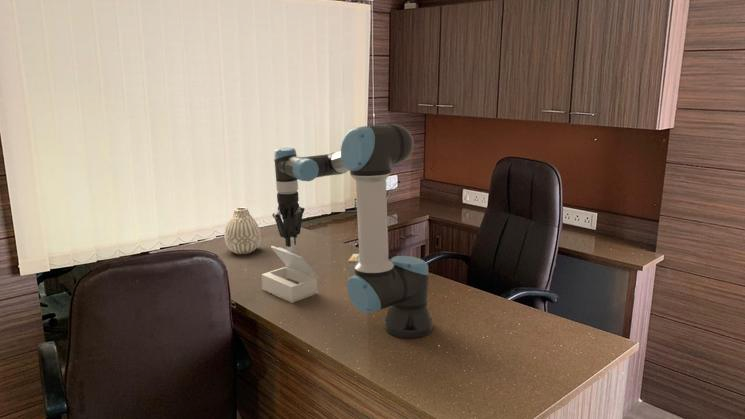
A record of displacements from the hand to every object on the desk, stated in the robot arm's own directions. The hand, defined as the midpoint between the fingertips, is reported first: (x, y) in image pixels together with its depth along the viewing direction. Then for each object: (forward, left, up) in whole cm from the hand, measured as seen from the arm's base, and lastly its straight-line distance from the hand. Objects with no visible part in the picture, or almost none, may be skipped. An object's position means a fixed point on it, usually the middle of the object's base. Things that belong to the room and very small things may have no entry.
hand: (291, 254), depth 205 cm
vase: (+52, -13, -14) cm, 55 cm away
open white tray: (0, +1, -14) cm, 14 cm away
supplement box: (-17, -17, -14) cm, 28 cm away
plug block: (-2, +4, -11) cm, 12 cm away
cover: (0, -1, -3) cm, 3 cm away
